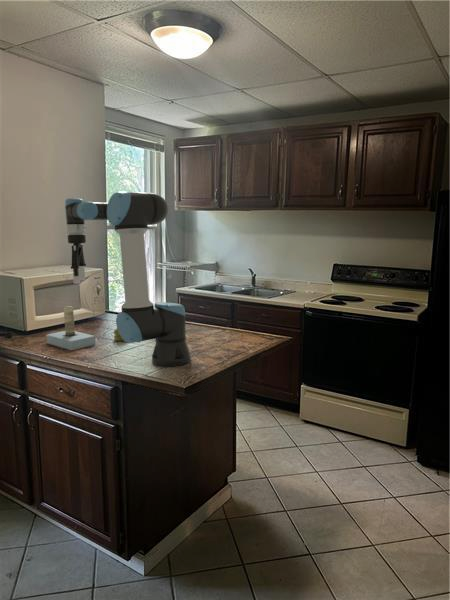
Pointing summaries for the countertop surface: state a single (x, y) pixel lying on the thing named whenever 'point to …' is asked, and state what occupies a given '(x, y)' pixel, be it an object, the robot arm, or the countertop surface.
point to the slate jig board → (70, 340)
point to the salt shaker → (117, 336)
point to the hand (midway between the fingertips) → (79, 281)
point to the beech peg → (69, 321)
